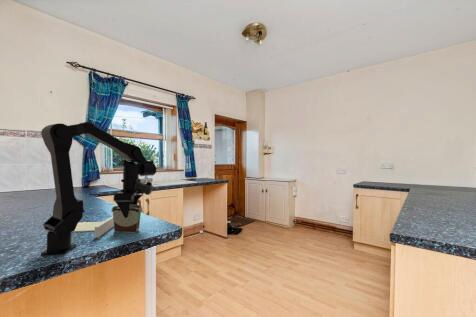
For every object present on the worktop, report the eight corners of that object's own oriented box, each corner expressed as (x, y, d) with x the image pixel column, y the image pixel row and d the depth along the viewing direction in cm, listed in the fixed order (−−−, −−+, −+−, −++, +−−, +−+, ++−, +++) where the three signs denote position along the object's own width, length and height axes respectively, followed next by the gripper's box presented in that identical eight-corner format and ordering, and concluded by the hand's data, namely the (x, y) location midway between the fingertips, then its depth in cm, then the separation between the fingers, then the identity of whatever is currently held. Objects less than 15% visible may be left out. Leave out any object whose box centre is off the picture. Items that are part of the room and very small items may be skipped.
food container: (148, 228, 89) (148, 204, 89) (140, 233, 83) (140, 207, 83) (120, 227, 90) (121, 203, 90) (110, 231, 84) (111, 206, 84)
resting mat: (100, 230, 85) (100, 230, 85) (58, 232, 82) (58, 231, 82) (113, 222, 96) (113, 221, 96) (77, 223, 94) (77, 222, 94)
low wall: (98, 237, 77) (98, 226, 77) (94, 238, 77) (94, 227, 77) (119, 222, 97) (119, 213, 97) (116, 222, 97) (116, 213, 97)
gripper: (145, 178, 79) (144, 220, 78) (156, 175, 97) (155, 209, 97) (113, 178, 77) (112, 221, 77) (130, 175, 95) (129, 209, 95)
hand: (130, 214), depth 86 cm, fingers open, 9 cm apart
